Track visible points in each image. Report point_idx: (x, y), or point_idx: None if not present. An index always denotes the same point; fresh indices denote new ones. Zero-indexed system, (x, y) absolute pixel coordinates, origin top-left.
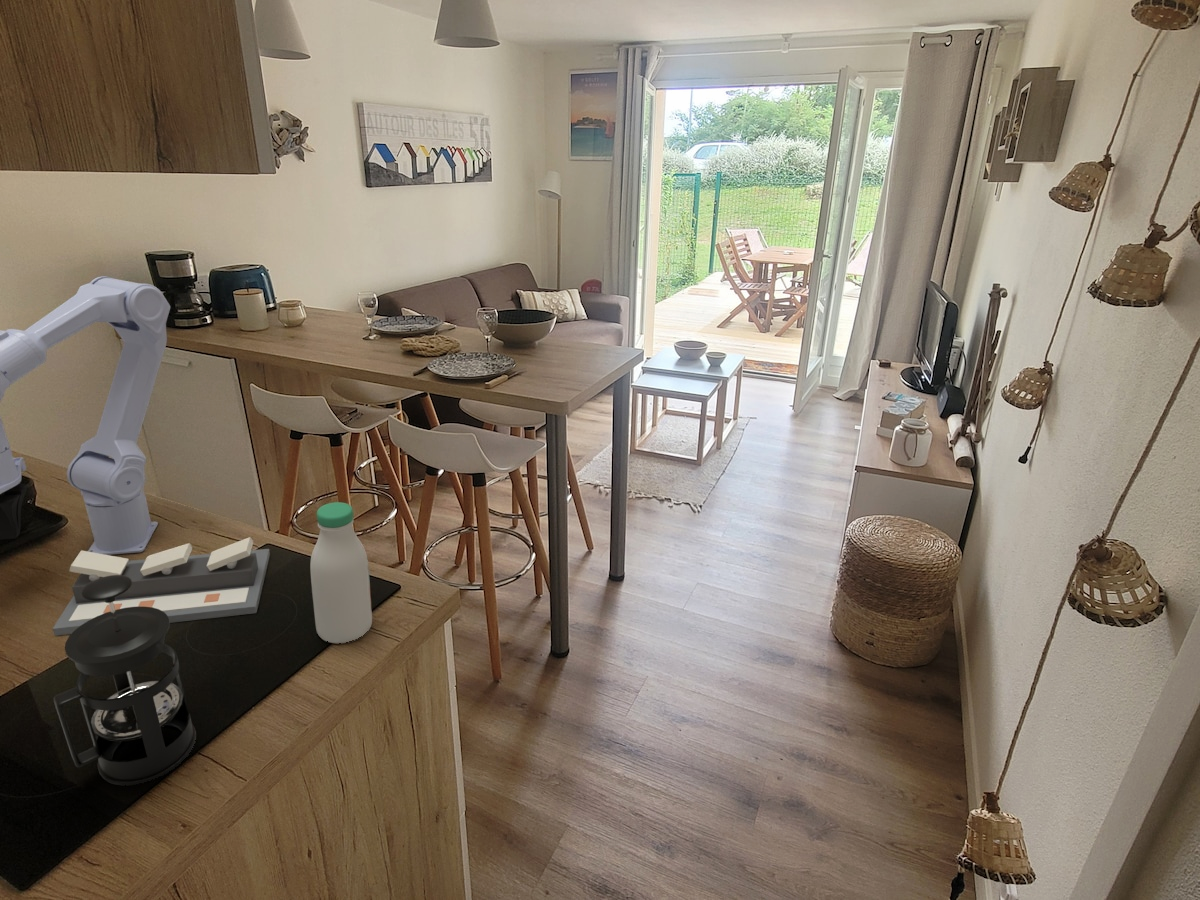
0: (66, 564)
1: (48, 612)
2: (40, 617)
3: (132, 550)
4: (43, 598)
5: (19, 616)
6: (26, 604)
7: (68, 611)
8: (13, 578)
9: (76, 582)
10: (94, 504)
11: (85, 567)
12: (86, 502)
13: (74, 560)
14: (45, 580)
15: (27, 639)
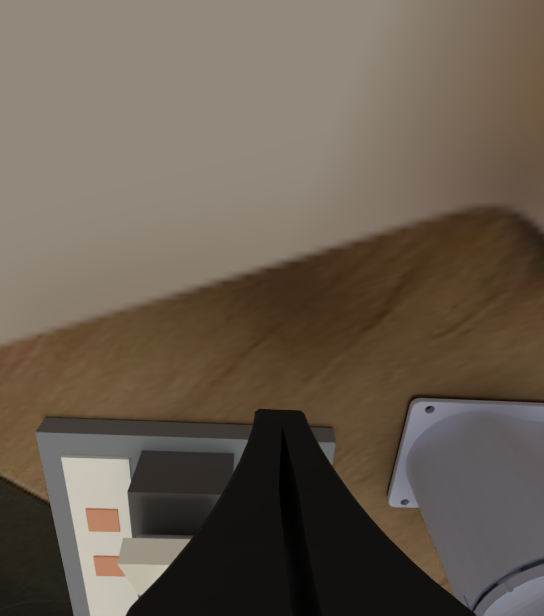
0: (391, 359)
1: (149, 380)
2: (129, 370)
3: (392, 490)
4: (219, 353)
5: (140, 325)
6: (197, 324)
7: (107, 444)
8: (355, 249)
9: (151, 496)
10: (490, 601)
11: (127, 574)
12: (525, 578)
13: (149, 564)
14: (315, 333)
15: (36, 370)
